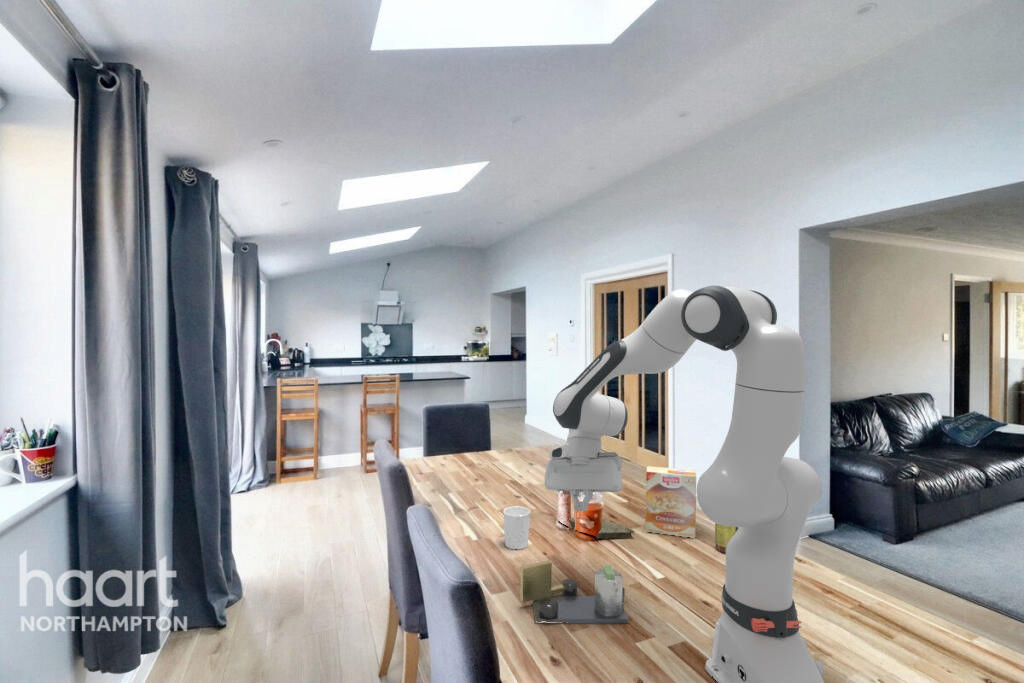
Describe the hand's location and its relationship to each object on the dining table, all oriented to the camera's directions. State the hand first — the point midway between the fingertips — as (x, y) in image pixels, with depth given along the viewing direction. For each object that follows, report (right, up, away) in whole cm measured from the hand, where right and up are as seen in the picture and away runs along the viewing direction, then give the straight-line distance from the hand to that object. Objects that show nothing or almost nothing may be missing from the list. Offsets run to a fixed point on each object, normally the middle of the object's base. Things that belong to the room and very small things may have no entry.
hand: (580, 510), depth 115 cm
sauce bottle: (+46, -20, +23) cm, 55 cm away
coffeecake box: (+34, -20, +36) cm, 53 cm away
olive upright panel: (-8, -19, -4) cm, 21 cm away
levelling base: (-2, -19, -9) cm, 21 cm away
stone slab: (+9, -20, +37) cm, 43 cm away
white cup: (-15, -19, +25) cm, 35 cm away
